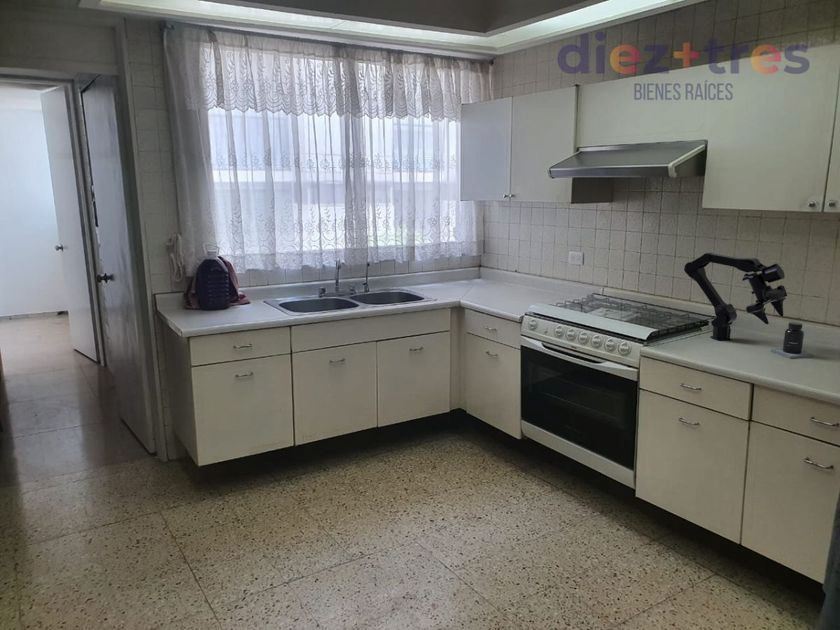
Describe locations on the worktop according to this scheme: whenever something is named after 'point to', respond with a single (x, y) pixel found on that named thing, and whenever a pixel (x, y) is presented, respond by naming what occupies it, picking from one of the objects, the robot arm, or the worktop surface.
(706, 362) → the worktop surface
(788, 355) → the plate
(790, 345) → the supplement bottle
